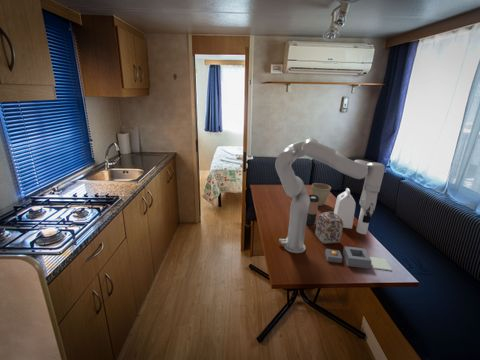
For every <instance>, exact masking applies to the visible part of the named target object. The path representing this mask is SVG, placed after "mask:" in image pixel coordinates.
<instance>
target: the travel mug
mask: <svg viewBox="0 0 480 360" xmlns="http://www.w3.org/2000/svg"><path fill="white" fill-rule="evenodd" d="M308 195H309V198H310V204H309V209H308V214H307V222H306V226H315V224H316V221H317V215H318V208H319V206H318V202H319V197H318V196H316V195H313V194H308Z"/></svg>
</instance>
